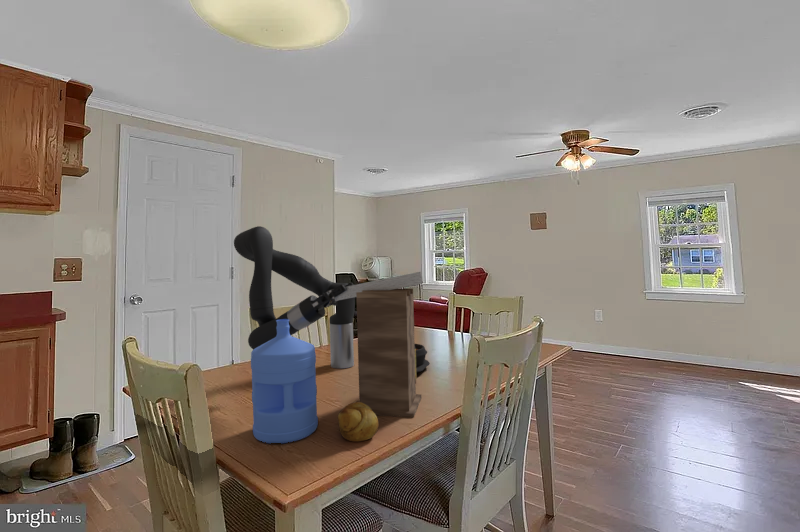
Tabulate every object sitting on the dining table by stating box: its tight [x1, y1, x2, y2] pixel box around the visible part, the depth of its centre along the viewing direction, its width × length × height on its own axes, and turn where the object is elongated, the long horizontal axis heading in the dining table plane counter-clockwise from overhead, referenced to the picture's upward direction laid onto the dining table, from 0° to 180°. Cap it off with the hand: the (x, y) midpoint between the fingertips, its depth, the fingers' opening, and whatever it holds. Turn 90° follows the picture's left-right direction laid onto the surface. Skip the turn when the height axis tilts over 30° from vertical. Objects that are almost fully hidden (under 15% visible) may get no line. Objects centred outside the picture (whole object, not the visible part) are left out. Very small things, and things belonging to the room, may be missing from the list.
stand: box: [356, 287, 422, 418], centre depth 116 cm, size 15×17×34 cm
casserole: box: [414, 343, 430, 373], centre depth 154 cm, size 25×19×8 cm
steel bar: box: [328, 271, 424, 302], centre depth 119 cm, size 4×28×4 cm, turn 86°
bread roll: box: [337, 401, 380, 443], centre depth 98 cm, size 13×10×8 cm
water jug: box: [250, 319, 319, 444], centre depth 100 cm, size 16×16×28 cm
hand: (348, 286), depth 120 cm, fingers open, 8 cm apart
